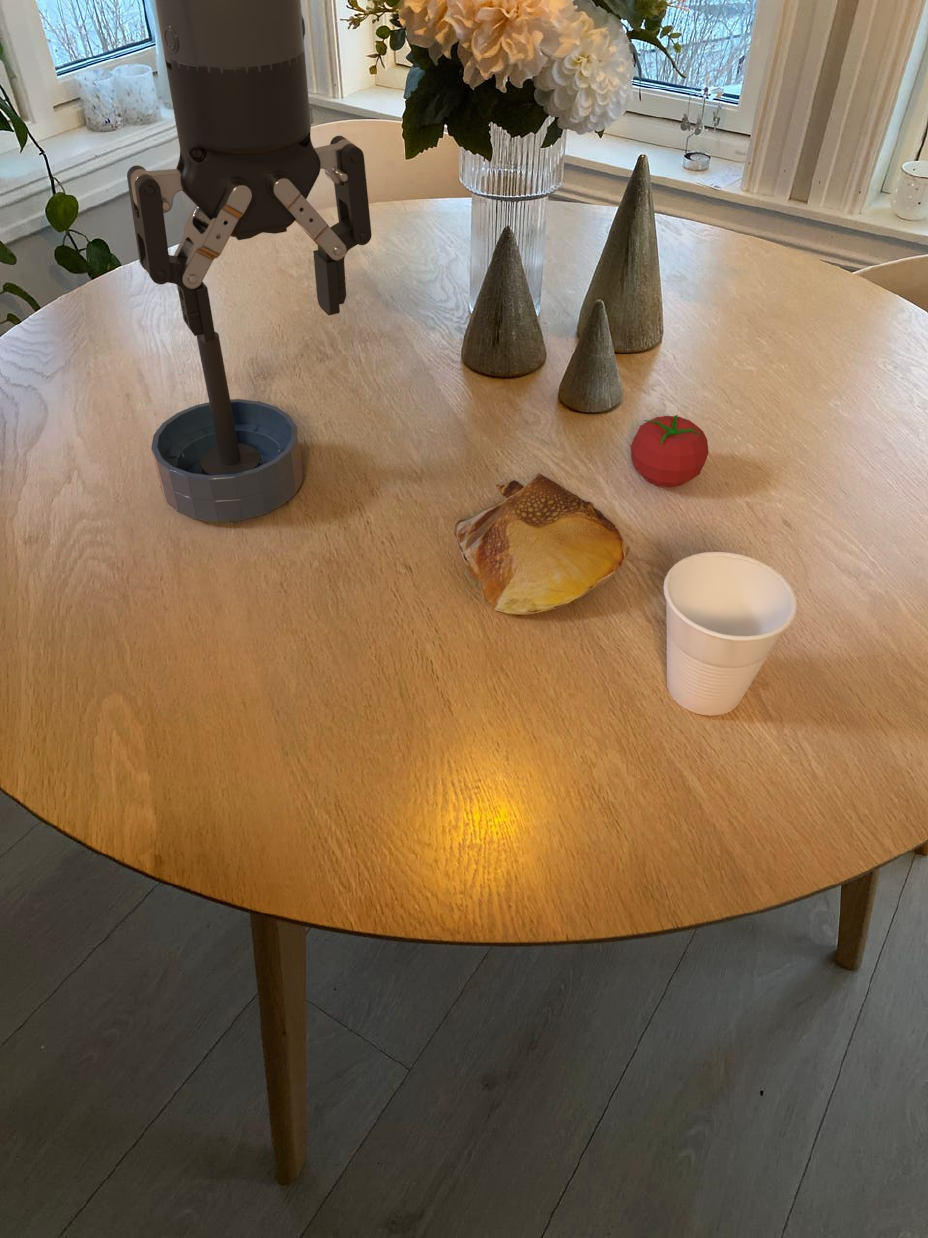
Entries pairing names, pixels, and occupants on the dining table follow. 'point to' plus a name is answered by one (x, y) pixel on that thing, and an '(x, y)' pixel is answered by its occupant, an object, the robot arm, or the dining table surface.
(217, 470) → the grey peg stand
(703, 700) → the cup
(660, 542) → the dining table surface
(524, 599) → the seashell
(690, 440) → the tomato
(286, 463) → the bowl
